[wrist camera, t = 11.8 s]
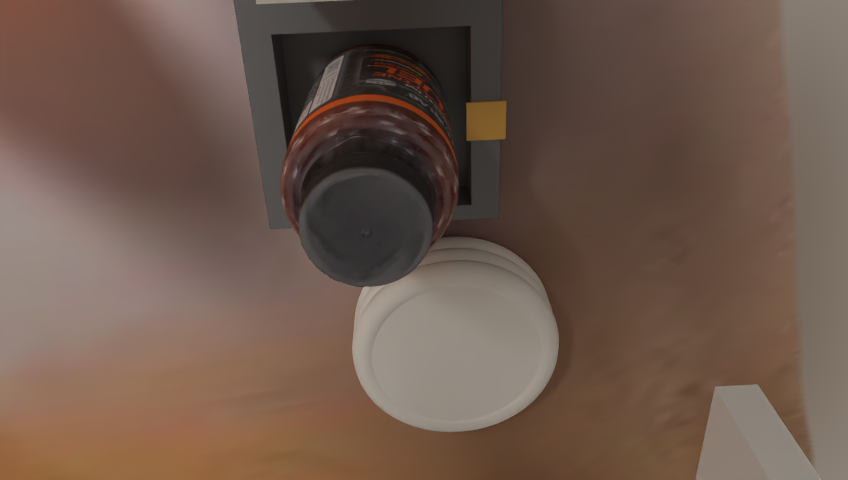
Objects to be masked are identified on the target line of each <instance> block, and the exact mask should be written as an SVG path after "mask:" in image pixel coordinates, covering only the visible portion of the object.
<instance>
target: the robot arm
mask: <svg viewBox="0 0 848 480" xmlns="http://www.w3.org/2000/svg"><path fill="white" fill-rule="evenodd" d="M695 480H821V478H820V477H819V475H818V474H817V472H816V471H815V469H814V468H813V466H812V465H811V463H810V462H809V460H808V459H807V457H806V456H805V454H804V453H803V451H802V450H801V448H800V447H799V445H798V444H797V442H796V441H795V439H794V438H793V436H792V435H791V433H790V432H789V430H788V429H787V427H786V426H785V424H784V423H783V421H782V420H781V419H780V417H779V416H778V414H777V413H776V411H775V410H774V408H773V407H772V405H771V404H770V402H769V401H768V399H767V398H766V396H765V395H764V393H763V392H762V390H761V389H760V387H759V386H758V384H757V385H738V386H719V387H715V389H714V394H713V399H712V404H711V408H710V413H709V418H708V422H707V427H706V432H705V437H704V441H703V446H702V451H701V456H700V460H699V465H698V470H697V474H696V479H695Z"/></svg>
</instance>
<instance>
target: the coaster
mask: <svg viewBox="0 0 848 480" xmlns="http://www.w3.org/2000/svg"><path fill="white" fill-rule="evenodd" d="M558 348H559V334H558V328H557V323H556V320H555V317H554V315H553V312H552V308H551V305H550V303H549V300H548V296H547V293H546V291H545V288H544V286H543V284H542V282H541V280H540V279H539V277H538V276H537V274H536V273H535V272H534V271H533V269H532V268H531V267H530V266H529V265H528V264H527V263H526V262H525V261H524V260H522V259H521V258H520V257H519V256H518V255H516V254H515V253H513V252H512V251H510V250H508V249H507V248H505V247H502V246H500V245H498V244H496V243H493V242H490V241H486V240H483V239H478V238H472V237H460V236H456V237H441V238H440V239H439V240H438V241H437V242H436V243H435V244H434V245H433V246H432V247H431V248H430V249H429V250H428V252H427V254H426V256H425V257H424V259H423V260H422V262H421V263H420V264H419V265H418V266H417V267H416V268H415V269H414V270H413V271H412V272H411V273H409V274H408V275H406V276H405V277H403V278H401V279H399V280H397V281H395V282H392V283H389V284H386V285H382V286H373V287H364V288H363V289H362V292H361V294H360V296H359V299H358V302H357V306H356V310H355V320H354V331H353V342H352V355H353V362H354V367H355V371H356V373H357V376H358V378H359V381H360V383H361V385H362V387H363V388H364V390H365V392H366V393H367V395H368V396H369V397H370V398H371V399H372V400H373V402H374V403H375V404H376V405H377V406H379V407H380V408H381V409H382V410H383V411H384V412H386V413H387V414H389V415H390V416H392V417H393V418H395V419H397V420H399V421H401V422H403V423H406V424H409V425H411V426H414V427H418V428H422V429H426V430H432V431H439V432H462V431H470V430H476V429H481V428H485V427H488V426H491V425H495V424H497V423H500V422H502V421H504V420H507V419H509V418H510V417H512V416H514V415H516V414H517V413H519V412H520V411H522V410H523V409H524V408H526V407H527V406H528V405H529V404H531V403H532V402H533V401H534V400H535V399H536V398H537V397H538V395H539V394H540V393H541V392H542V391H543V389H544V388H545V386H546V385H547V383H548V382H549V380H550V378H551V376H552V374H553V371H554V369H555V365H556V362H557V357H558Z"/></svg>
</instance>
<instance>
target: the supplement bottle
mask: <svg viewBox="0 0 848 480" xmlns="http://www.w3.org/2000/svg"><path fill="white" fill-rule="evenodd" d="M280 190H281V199H282V204H283V207H284V210H285V213H286V215H287V218H288V220H289V222H290V224H291V226H292V227H293V229H294V230H295V231H296V233H297V234H298V235H299V237H300V240H301V243H302V246H303V248H304V250H305V252H306V254H307V255H308V257H309V259H310V260H311V261H312V262H313V264H314V265H315V266H316V267H317V268H318V269H319V270H321V271H322V272H323V273H324V274H326V275H328V276H329V277H330V278H332V279H334V280H336V281H340V282H343V283H345V284H348V285H352V286H357V287H373V286H382V285H386V284H389V283H392V282H395V281H397V280H399V279H401V278H403V277H405V276H406V275H408V274H409V273H411V272H412V271H413V270H414V269H415V268H416V267H417V266H418V265H419V264H420V263H421V262H422V260H423V259H424V257H425V256H426V254H427V252H428V250H429V249H430V248H431V247H432V246H433V245H434V244H435V243H436V242H437V241H438V240H439V239H440V238H441V236H442V235H443V234H444V232H445V231H446V229H447V228H448V226H449V224H450V222H451V220H452V218H453V215H454V213H455V209H456V206H457V202H458V193H459V173H458V167H457V159H456V155H455V148H454V143H453V138H452V132H451V126H450V118H449V114H448V108H447V101H446V98H445V96H444V93H443V90H442V88H441V85H440V83H439V81H438V80H437V78H436V76H435V75H434V73H433V72H432V71H431V70H430V69H429V67H428V66H427V65H426V64H425V63H424V62H423V61H422V60H420V59H419V58H418V57H416V56H415V55H413V54H412V53H410V52H408V51H405V50H403V49H400V48H397V47H394V46H390V45H383V44H369V45H366V44H364V45H360V46H357V47H353V48H350V49H348V50H346V51H344V52H343V53H341V54H339V55H337V56H336V57H334V58H333V59H332V60H331V61H330V62H329V63H327V64H326V66H324V68H323V69H322V70H321V71H320V73H319V74H318V76H317V78H316V79H315V81H314V83H313V85H312V87H311V89H310V92H309V95H308V97H307V100H306V103H305V105H304V108H303V111H302V113H301V116H300V118H299V121H298V123H297V126H296V129H295V131H294V134H293V136H292V139H291V141H290V144H289V147H288V150H287V152H286V155H285V158H284V162H283V167H282V172H281V181H280Z"/></svg>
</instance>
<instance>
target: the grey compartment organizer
mask: <svg viewBox="0 0 848 480" xmlns="http://www.w3.org/2000/svg"><path fill="white" fill-rule="evenodd" d="M234 6H235V12H236V18H237V24H238V31H239V37H240V43H241V50H242V56H243V62H244V68H245V75H246V81H247V87H248V94H249V100H250V106H251V113H252V119H253V125H254V131H255V138H256V144H257V150H258V157H259V163H260V169H261V175H262V182H263V188H264V194H265V201H266V207H267V213H268V219H269V226H270V229H280V228H293V227H292V226H291V224H290V222H289V220H288V218H287V215H286V213H285V210H284V207H283V204H282V199H281V190H280V181H281V172H282V167H283V162H284V158H285V155H286V152H287V150H288V147H289V144H290V141H291V139H292V136H293V134H294V131H295V129H296V126H297V123H298V121H299V118H300V116H301V113H302V111H303V108H304V105H305V103H306V100H307V97H308V95H309V92H310V89H311V87H312V85H313V83H314V81H315V79H316V78H317V76H318V74H319V73H320V71H321V70H322V69H323V68H324V66H326V64H327V63H329V62H330V61H331V60H332V59H333V58H334V57H336V56H337V55H339V54H341V53H343V52H344V51H346V50H348V49H350V48H353V47H357V46H360V45H364V44H366V45H369V44H383V45H390V46H394V47H397V48H400V49H403V50H405V51H408V52H410V53H412V54H413V55H415V56H416V57H418V58H419V59H420V60H422V61H423V62H424V63H425V64H426V65H427V66H428V67H429V69H430V70H431V71H432V72H433V73H434V75H435V76H436V78H437V80H438V81H439V83H440V85H441V88H442V90H443V93H444V96H445V98H446V101H447V108H448V114H449V118H450V126H451V132H452V138H453V143H454V148H455V155H456V159H457V167H458V173H459V193H458V202H457V206H456V209H455V213H454V215H453V218H452V220H470V219H491V218H499V188H500V139H506V101H501V73H502V15H503V0H234Z"/></svg>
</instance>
